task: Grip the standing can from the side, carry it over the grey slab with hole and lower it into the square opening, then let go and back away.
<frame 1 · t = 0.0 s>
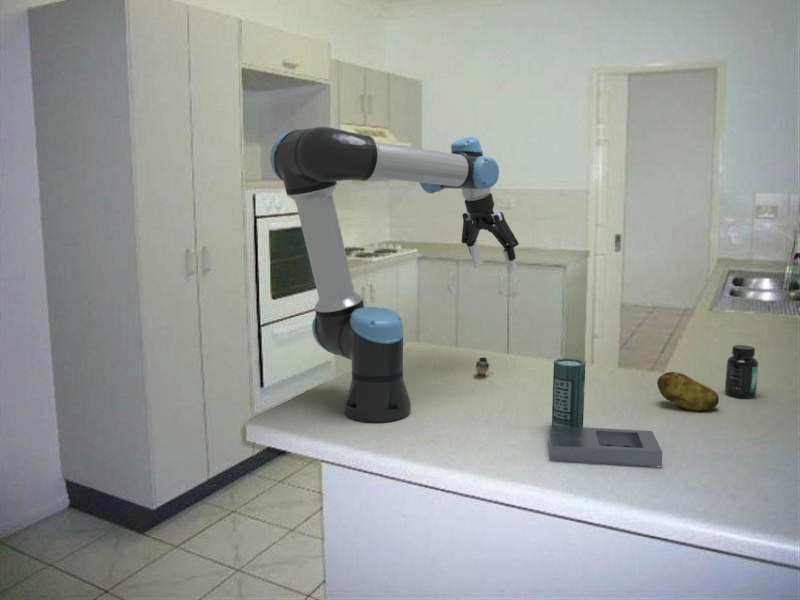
hand: (495, 268, 194), 28 cm above the counter, tool tilted 20°, fingers open, 13 cm apart
supplement bottle: (739, 395, 171), on the counter
vase: (482, 378, 188), on the counter
can: (567, 432, 147), on the counter
potato: (686, 408, 162), on the counter
grey slab with hole: (602, 452, 136), on the counter
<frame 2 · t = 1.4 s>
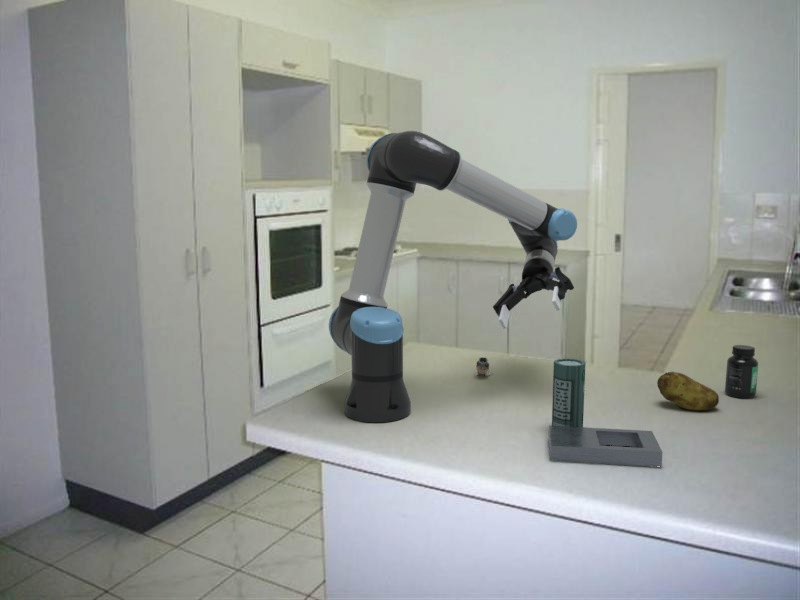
hand: (528, 315, 161), 21 cm above the counter, tool tilted 70°, fingers open, 13 cm apart
nothing on the counter moved.
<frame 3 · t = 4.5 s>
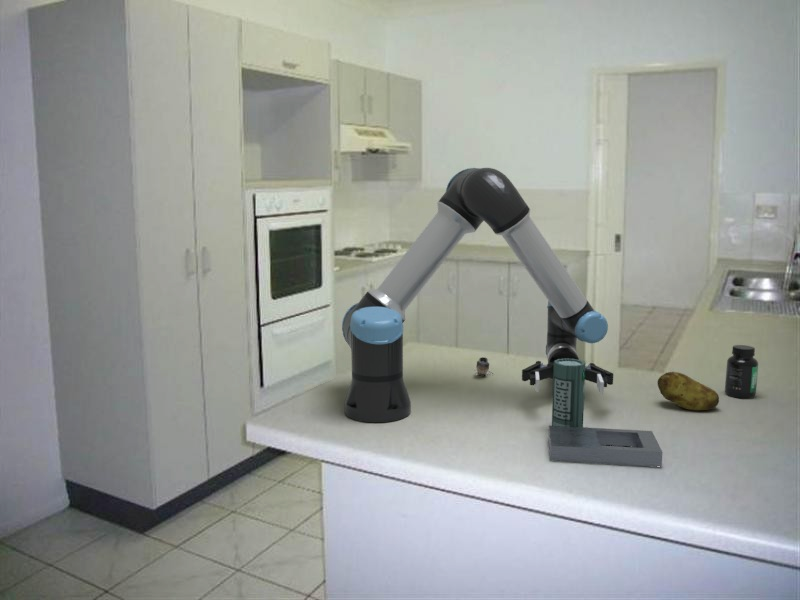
hand: (569, 387, 152), 8 cm above the counter, tool horizontal, fingers open, 13 cm apart
nothing on the counter moved.
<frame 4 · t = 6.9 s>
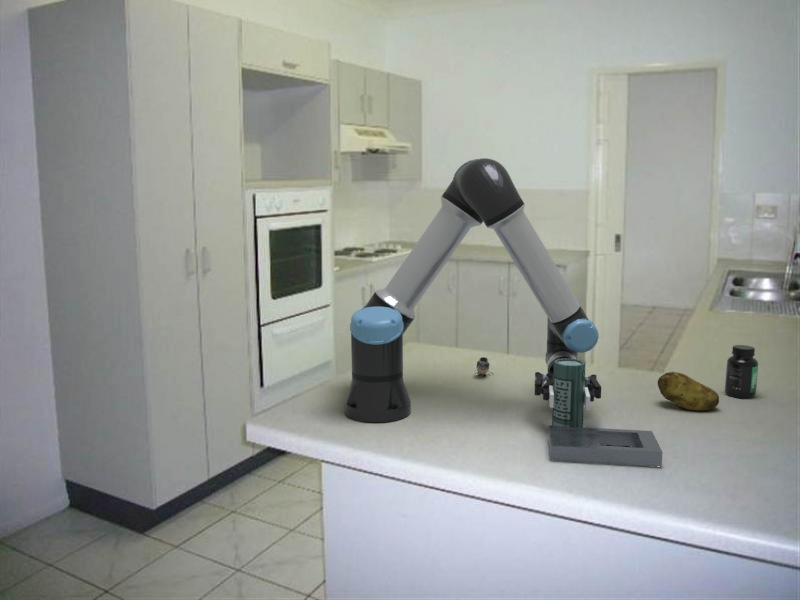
hand: (569, 402, 141), 8 cm above the counter, tool horizontal, fingers closed on can, 6 cm apart
can: (567, 432, 147), on the counter, touching gripper
everything else where it was.
when the fingers open (9 cm above the counter, at t = 12.1 s): can drops 1 cm, resting in grey slab with hole.
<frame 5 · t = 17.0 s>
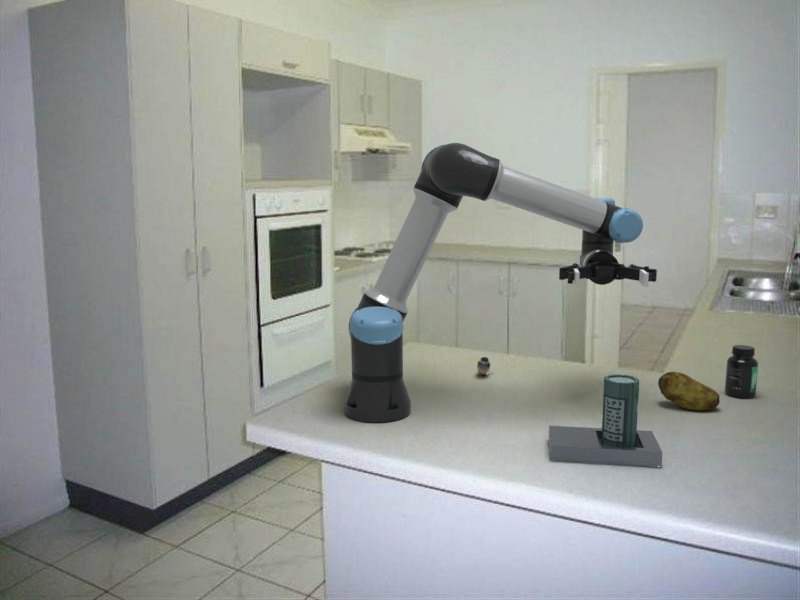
hand: (611, 279, 143), 32 cm above the counter, tool horizontal, fingers open, 13 cm apart
can: (617, 454, 135), resting in grey slab with hole
everything else where it was.
at the end: can 0.0 cm from the target spot on the grey slab with hole, point 0.0 cm above the grey slab with hole's base; can tilted 0°; the gripper is holding nothing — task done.
